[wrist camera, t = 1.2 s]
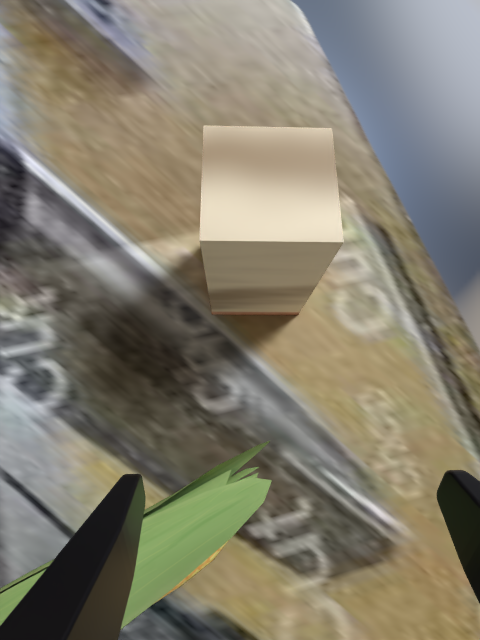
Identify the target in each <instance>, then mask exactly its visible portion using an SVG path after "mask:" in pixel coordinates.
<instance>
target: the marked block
mask: <svg viewBox="0 0 480 640" xmlns="http://www.w3.org/2000/svg"><path fill="white" fill-rule="evenodd" d="M343 242H344V241H343V231H342V222H341V212H340V202H339V192H338V182H337V173H336V163H335V153H334V143H333V133H332V128H295V127H246V126H204V132H203V160H202V188H201V216H200V246H201V252H202V258H203V264H204V270H205V276H206V282H207V288H208V294H209V300H210V306H211V312H212V314H219V315H298V314H299V313H300V311H301V310H302V308H303V306H304V305H305V303H306V302H307V300H308V298H309V297H310V295H311V294H312V292H313V290H314V289H315V287H316V286H317V284H318V282H319V281H320V279H321V278H322V276H323V274H324V273H325V271H326V270H327V268H328V266H329V265H330V263H331V262H332V260H333V258H334V257H335V255H336V254H337V252H338V250H339V249H340V247H341V246H342V244H343Z"/></svg>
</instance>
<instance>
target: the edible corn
mask: <svg viewBox="0 0 480 640" xmlns="http://www.w3.org/2000/svg"><path fill="white" fill-rule="evenodd" d="M269 442H270V441H268V442H265V443H263V444H260V445H258V446H256V447H254V448H252V449H250V450H248V451H246V452H244V453H242V454H240V455H238V456H236V457H234V458H232V459H230V460H228V461H226V462H224V463H222V464H220V465H218V466H216V467H215V468H213V469H212V470H210V471H209V472H207V473H205V474H204V475H202V476H201V477H199V478H198V479H196V480H195V481H193V482H192V483H190V484H189V485H187V486H185V487H184V488H182V489H181V490H179V491H178V492H176V493H175V494H173V495H171V496H169V497H167V498H166V499H164V500H162V501H160V502H158V503H157V504H155V505H153V506H151V507H149V508H148V509H146V510H144V515H143V522H142V528H141V535H140V541H139V547H138V554H137V560H136V567H135V572H134V578H133V582H132V586H131V591H130V594H129V598H128V602H127V606H126V610H125V614H124V618H123V622H122V625H121V629H122V628H123V627H124V626H126V625H127V624H128V623H130V622H131V621H132V620H133V619H135V618H136V617H137V616H138V615H140V614H141V613H142V612H144V611H145V610H146V609H147V608H149V607H150V606H151V605H153V604H154V603H156V602H157V601H159V600H160V599H162V598H163V597H165V596H166V595H168V594H169V593H171V592H173V591H174V590H176V589H177V588H179V587H180V586H182V585H183V584H184V583H185V582H187V581H188V580H189V579H190V578H192V577H193V576H194V575H195V574H197V573H198V572H199V571H200V570H202V569H203V568H204V567H205V566H207V565H208V564H209V563H210V562H212V561H213V560H214V559H215V557H216V556H217V555H218V554H219V552H220V551H221V550H222V548H223V547H224V546H225V545H226V543H227V542H228V541H229V540H230V538H231V537H232V536H233V535H234V534H235V533H236V532H237V531H238V530H239V529H240V527H241V526H242V525H243V524H244V523H245V522H246V521H247V520H248V519H249V518H250V516H251V515H252V514H253V513H254V512H255V511H256V510H257V509H258V508H259V507H260V505H261V504H262V503H263V502H264V500H265V497H266V494H267V492H268V489H269V486H270V484H271V480H265V479H259V478H257V475H258V473H257V474H254V475H252V476H249V477H247V478H244V479H242V480H239V479H240V478H242V477H244V476H245V475H247V474H249V473H250V472H252V471H254V470H255V469H257V468H259V467H255V468H248V469H245V470H243V471H241V472H239V473H237V474H235V475H233V474H234V473H235V472H236V471H237V470H239V469H240V468H241V467H242V466H243V465H244V464H245V463H247V462H248V461H249V460H250V459H251V458H252V457H253V456H255V455H256V454H257V453H258V452H259V451H260V450H261V449H262V448H263V447H264V446H266V445H267V444H268V443H269ZM232 475H233V476H232ZM237 480H239V481H237ZM235 481H237V482H235ZM52 562H53V560H52V561H50V562H48V563H46V564H44V565H42V566H40V567H38V568H37V569H35V570H33V571H31V572H29V573H27V574H25V575H23V576H22V577H20V578H18V579H16V580H14V581H13V582H11V583H9V584H7V585H6V586H4V587H2V588H0V625H1V624H2V623H3V622H4V620H5V619H6V618H7V617H8V616H9V614H10V613H11V612H12V611H13V609H14V608H15V607H16V606H17V605H18V603H19V602H20V601H21V600H22V598H23V597H24V596H25V595H26V593H27V592H28V591H29V590H30V589H31V587H32V586H33V585H34V584H35V582H36V581H37V580H38V579H39V578H40V576H41V575H42V574H43V573H44V571H45V570H46V569H47V568H48V566H49V565H50V564H51V563H52ZM121 629H120V630H121Z"/></svg>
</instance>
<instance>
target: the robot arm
mask: <svg viewBox="0 0 480 640" xmlns="http://www.w3.org/2000/svg"><path fill="white" fill-rule="evenodd" d="M437 500H438V504H439V506H440V509H441V512H442V514H443V517H444V520H445V522H446V525H447V527H448V530H449V533H450V535H451V538H452V541H453V543H454V546H455V549H456V551H457V554H458V557H459V559H460V562H461V564H462V567H463V569H464V571H465V574H466V576H467V578H468V580H469V582H470V584H471V587H472V589H473V591H474V593H475V595H476V597H477V599H478V601H479V603H480V481H478V480H477V479H476V478H474V477H473V476H472V475H470V474H469V473H468V472H466V471H463V470H448V471H446V472H445V474H444V476H443V478H442V481H441V483H440V485H439V488H438V490H437ZM144 509H145V491H144V486H143V480H142V476H141V475H140V474H125V475H123V476H122V477H121V478H120V479H119V481H118V482H117V483H116V484H115V485H114V487H113V488H112V489H111V490H110V492H109V493H108V494H107V495H106V496H105V498H104V499H103V500H102V501H101V503H100V504H99V505H98V506H97V508H96V509H95V510H94V511H93V512H92V514H91V515H90V516H89V517H88V519H87V520H86V521H85V522H84V523H83V525H82V526H81V527H80V528H79V530H78V531H77V532H76V533H75V535H74V536H73V537H72V538H71V539H70V541H69V542H68V543H67V544H66V546H65V547H64V548H63V549H62V550H61V552H60V553H59V554H58V555H57V557H56V558H55V559H54V560H53V562H52V563H51V564H50V565H49V566H48V568H47V569H46V570H45V571H44V573H43V574H42V575H41V576H40V578H39V579H38V580H37V581H36V582H35V584H34V585H33V586H32V587H31V589H30V590H29V591H28V592H27V593H26V595H25V596H24V597H23V598H22V600H21V601H20V602H19V603H18V605H17V606H16V607H15V608H14V609H13V611H12V612H11V613H10V614H9V616H8V617H7V618H6V619H5V620H4V622H3V623H2V624H1V625H0V640H118V637H119V633H120V629H121V625H122V622H123V618H124V614H125V610H126V606H127V602H128V598H129V594H130V591H131V586H132V582H133V578H134V572H135V567H136V560H137V554H138V547H139V541H140V535H141V528H142V522H143V515H144Z"/></svg>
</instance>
